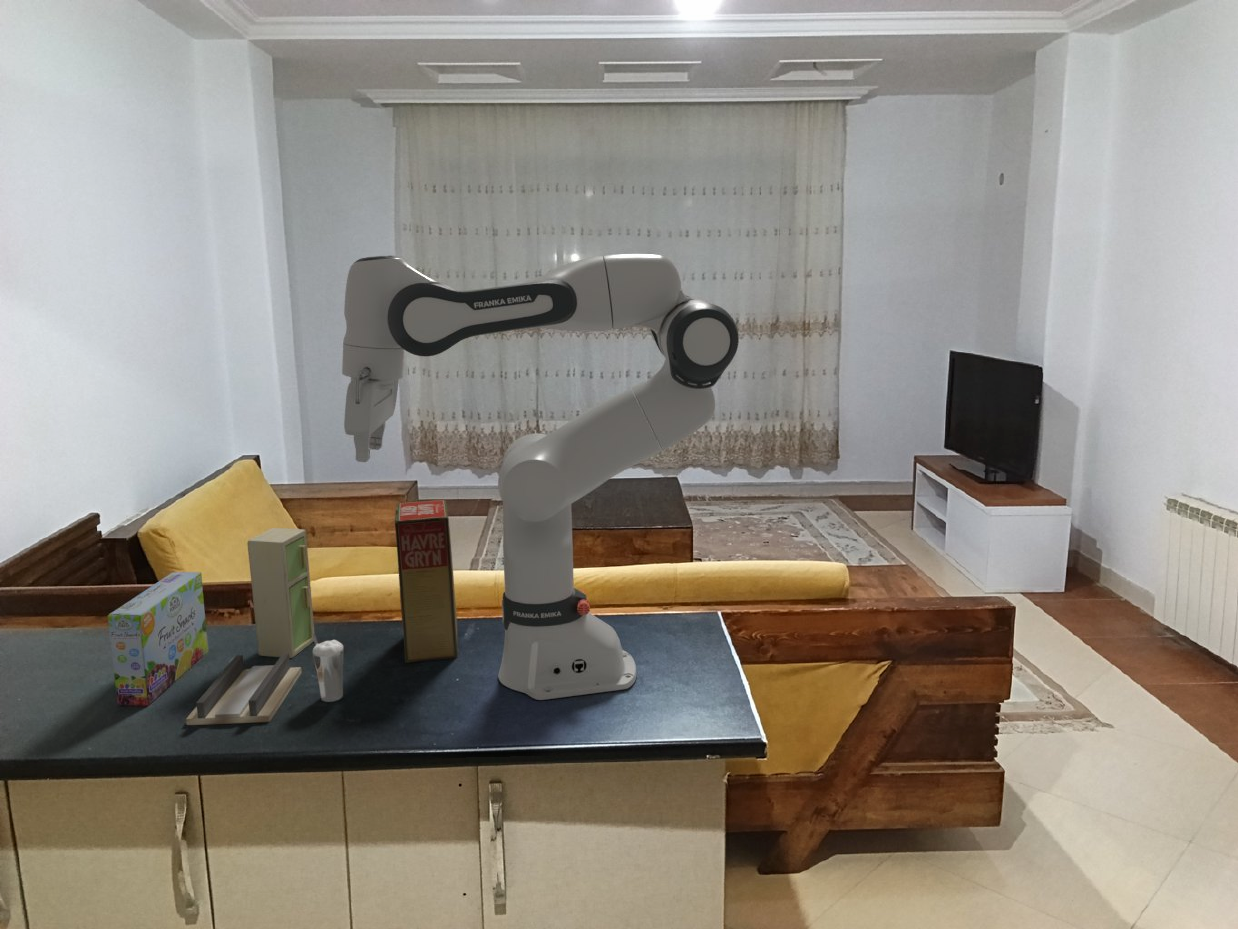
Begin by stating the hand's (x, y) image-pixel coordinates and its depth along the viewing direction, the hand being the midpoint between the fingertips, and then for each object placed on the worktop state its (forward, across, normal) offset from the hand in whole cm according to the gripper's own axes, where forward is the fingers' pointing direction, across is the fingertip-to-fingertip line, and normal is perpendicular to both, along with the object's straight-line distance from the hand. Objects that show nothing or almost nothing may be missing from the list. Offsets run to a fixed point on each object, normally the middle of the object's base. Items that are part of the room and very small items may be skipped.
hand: (369, 454), depth 141 cm
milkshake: (+38, -5, +4) cm, 39 cm away
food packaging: (+37, +14, -9) cm, 41 cm away
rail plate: (+40, -4, +16) cm, 43 cm away
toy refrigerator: (+40, +15, +16) cm, 45 cm away
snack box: (+42, +5, +32) cm, 53 cm away
